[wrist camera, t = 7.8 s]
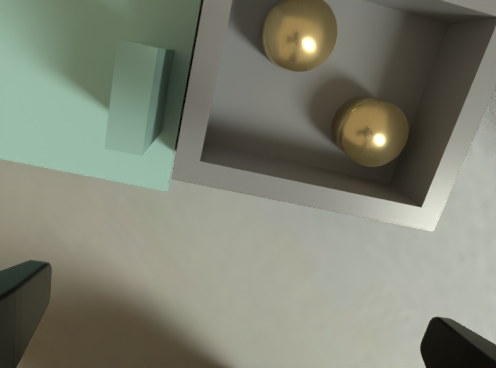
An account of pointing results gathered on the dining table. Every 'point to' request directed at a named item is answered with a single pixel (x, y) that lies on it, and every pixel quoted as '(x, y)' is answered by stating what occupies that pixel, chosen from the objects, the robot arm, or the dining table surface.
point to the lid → (95, 85)
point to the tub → (339, 105)
